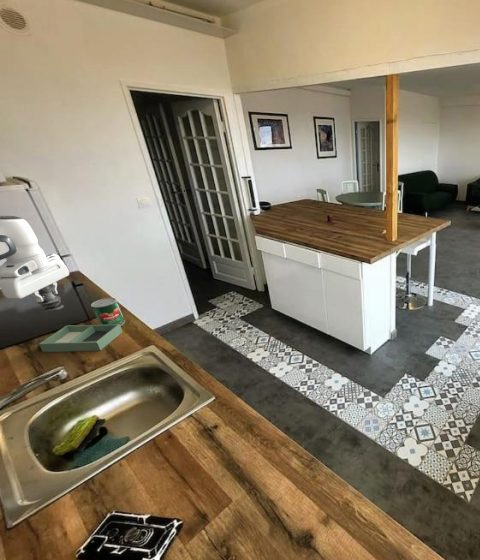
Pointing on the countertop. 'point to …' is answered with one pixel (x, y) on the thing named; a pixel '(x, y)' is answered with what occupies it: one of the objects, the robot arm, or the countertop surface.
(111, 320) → the canned tomato
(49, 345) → the tray
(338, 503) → the countertop surface
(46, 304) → the grey statuette
